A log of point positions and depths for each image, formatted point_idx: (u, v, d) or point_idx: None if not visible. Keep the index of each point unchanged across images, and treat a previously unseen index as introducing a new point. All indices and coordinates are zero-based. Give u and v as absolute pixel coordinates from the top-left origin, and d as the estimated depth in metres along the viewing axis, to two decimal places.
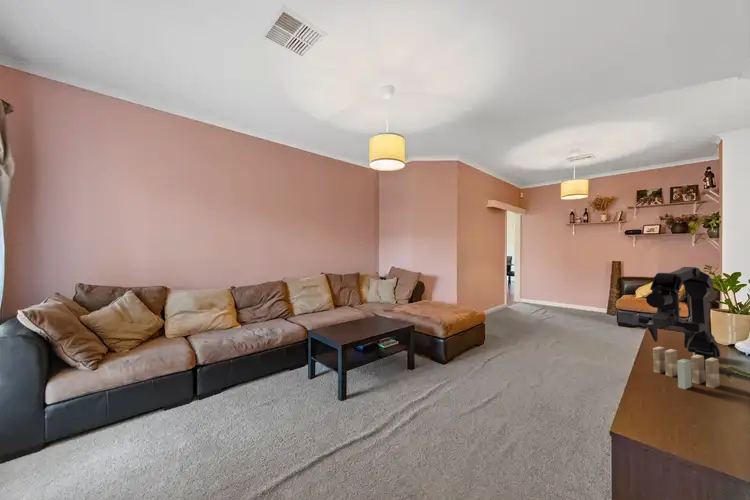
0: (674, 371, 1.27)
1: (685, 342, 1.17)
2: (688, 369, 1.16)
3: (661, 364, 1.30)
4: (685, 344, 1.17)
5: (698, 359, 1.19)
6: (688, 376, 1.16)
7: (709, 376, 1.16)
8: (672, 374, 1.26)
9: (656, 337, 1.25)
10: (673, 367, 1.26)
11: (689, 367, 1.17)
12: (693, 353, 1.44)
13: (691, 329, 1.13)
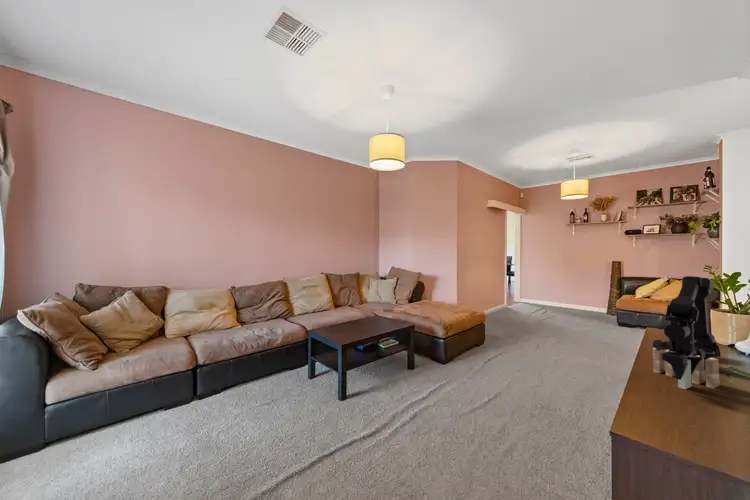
0: None
1: None
2: (688, 369, 1.16)
3: (661, 364, 1.30)
4: None
5: None
6: (688, 376, 1.16)
7: (709, 376, 1.16)
8: (672, 374, 1.26)
9: None
10: None
11: (689, 367, 1.17)
12: None
13: None
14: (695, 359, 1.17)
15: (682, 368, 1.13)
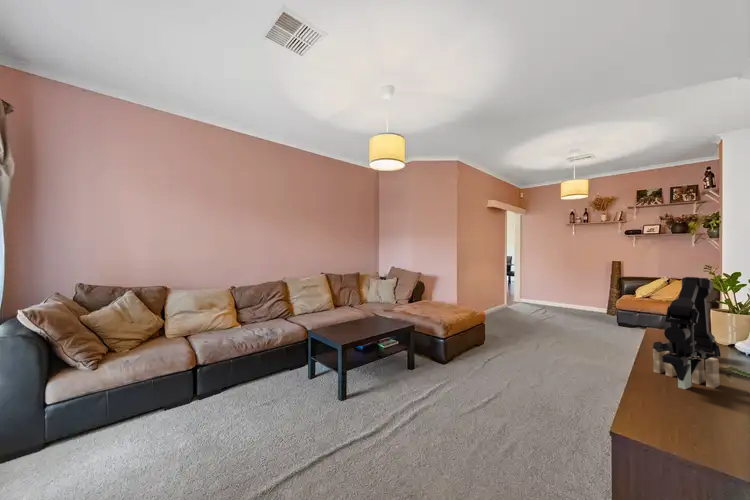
0: (674, 371, 1.27)
1: None
2: (688, 369, 1.16)
3: (661, 364, 1.30)
4: None
5: None
6: (688, 376, 1.16)
7: (709, 376, 1.16)
8: (672, 374, 1.26)
9: None
10: (673, 367, 1.26)
11: (689, 367, 1.17)
12: None
13: None
14: (694, 361, 1.17)
15: (684, 369, 1.14)
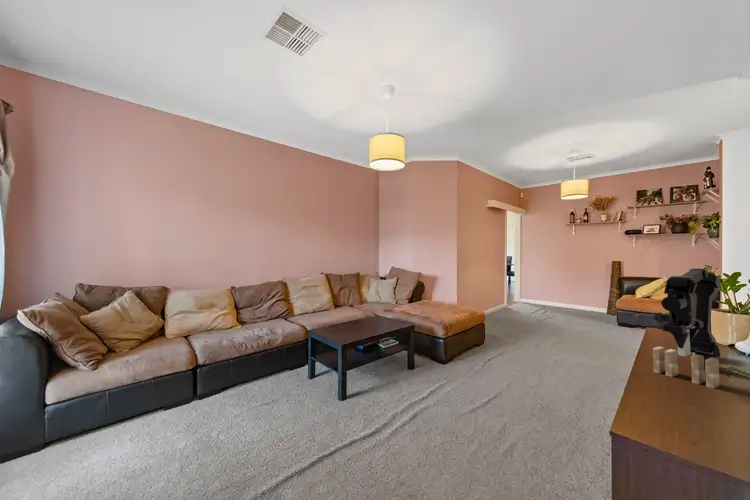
0: (674, 371, 1.27)
1: None
2: (687, 337, 1.23)
3: (661, 364, 1.30)
4: None
5: (698, 359, 1.19)
6: (687, 344, 1.23)
7: (709, 376, 1.16)
8: (672, 374, 1.26)
9: None
10: (673, 367, 1.26)
11: (688, 335, 1.24)
12: (693, 353, 1.44)
13: None
14: (692, 330, 1.24)
15: (683, 337, 1.20)
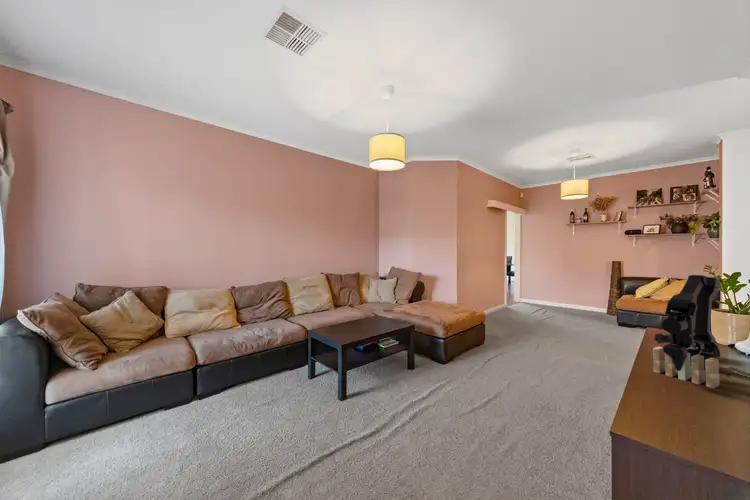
0: (674, 371, 1.27)
1: None
2: (688, 361, 1.24)
3: (661, 364, 1.30)
4: None
5: (698, 359, 1.19)
6: (688, 368, 1.23)
7: (709, 376, 1.16)
8: (672, 374, 1.26)
9: (690, 362, 1.26)
10: (673, 367, 1.26)
11: (688, 359, 1.24)
12: None
13: None
14: (695, 351, 1.25)
15: (682, 360, 1.20)
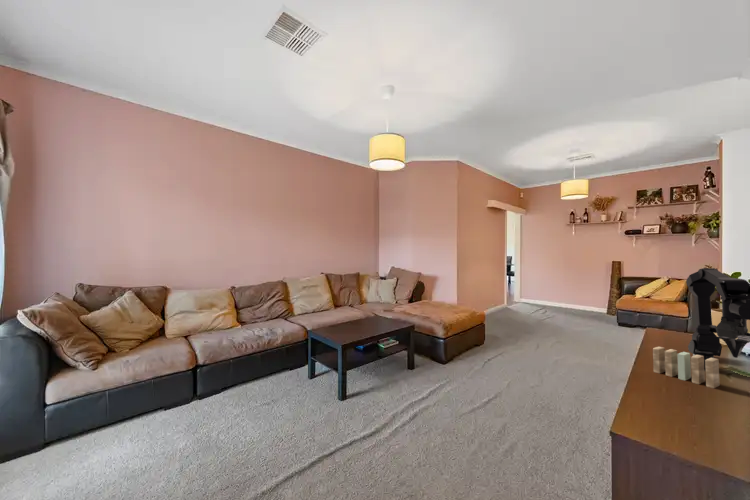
0: (674, 371, 1.27)
1: (736, 351, 1.11)
2: (688, 361, 1.24)
3: (661, 364, 1.30)
4: (736, 354, 1.11)
5: (698, 359, 1.19)
6: (688, 368, 1.23)
7: (709, 376, 1.16)
8: (672, 374, 1.26)
9: None
10: (673, 367, 1.26)
11: (688, 359, 1.24)
12: None
13: None
14: None
15: (745, 344, 1.10)
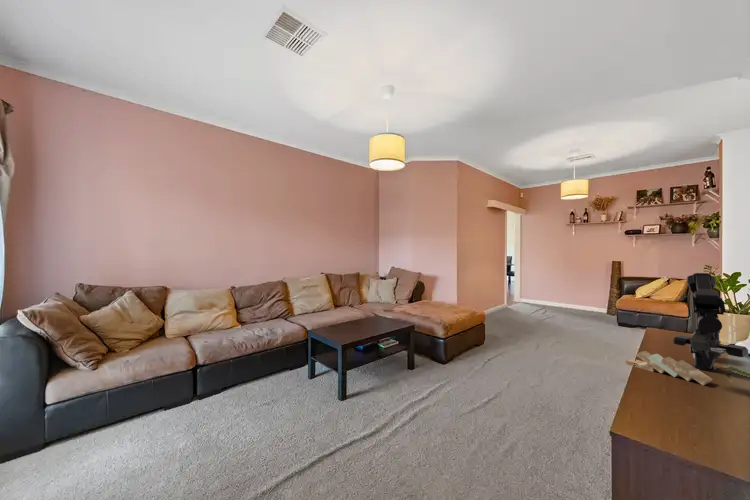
0: None
1: (709, 362, 1.17)
2: None
3: (645, 364, 1.35)
4: (709, 364, 1.17)
5: (664, 359, 1.28)
6: None
7: (691, 375, 1.20)
8: None
9: None
10: None
11: (662, 358, 1.32)
12: (693, 353, 1.44)
13: (734, 354, 1.10)
14: None
15: (717, 355, 1.17)
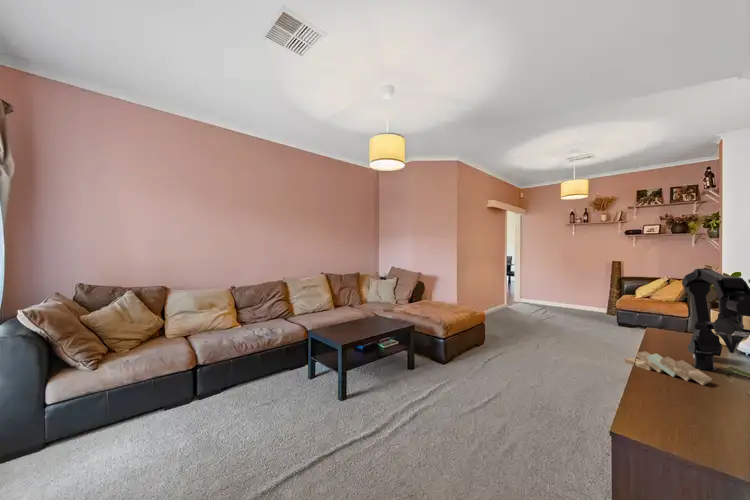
0: None
1: (732, 347, 1.14)
2: None
3: (643, 363, 1.37)
4: (732, 349, 1.14)
5: (663, 359, 1.29)
6: None
7: (691, 375, 1.21)
8: None
9: None
10: None
11: (661, 358, 1.32)
12: None
13: None
14: (730, 334, 1.16)
15: (741, 340, 1.14)
